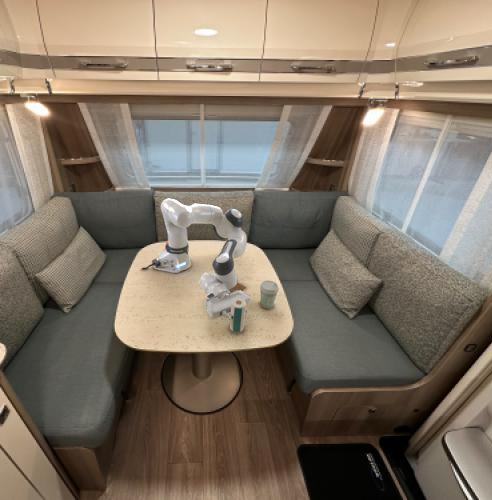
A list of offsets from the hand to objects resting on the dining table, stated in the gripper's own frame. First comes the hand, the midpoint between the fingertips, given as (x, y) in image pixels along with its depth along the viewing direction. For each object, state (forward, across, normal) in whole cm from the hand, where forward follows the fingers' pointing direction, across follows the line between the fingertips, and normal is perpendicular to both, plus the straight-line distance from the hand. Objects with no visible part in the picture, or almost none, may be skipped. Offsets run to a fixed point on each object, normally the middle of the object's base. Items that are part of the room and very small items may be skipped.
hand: (239, 315), depth 112 cm
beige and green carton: (-1, 0, -8) cm, 8 cm away
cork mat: (-29, -11, -9) cm, 32 cm away
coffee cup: (-6, -22, -9) cm, 24 cm away
